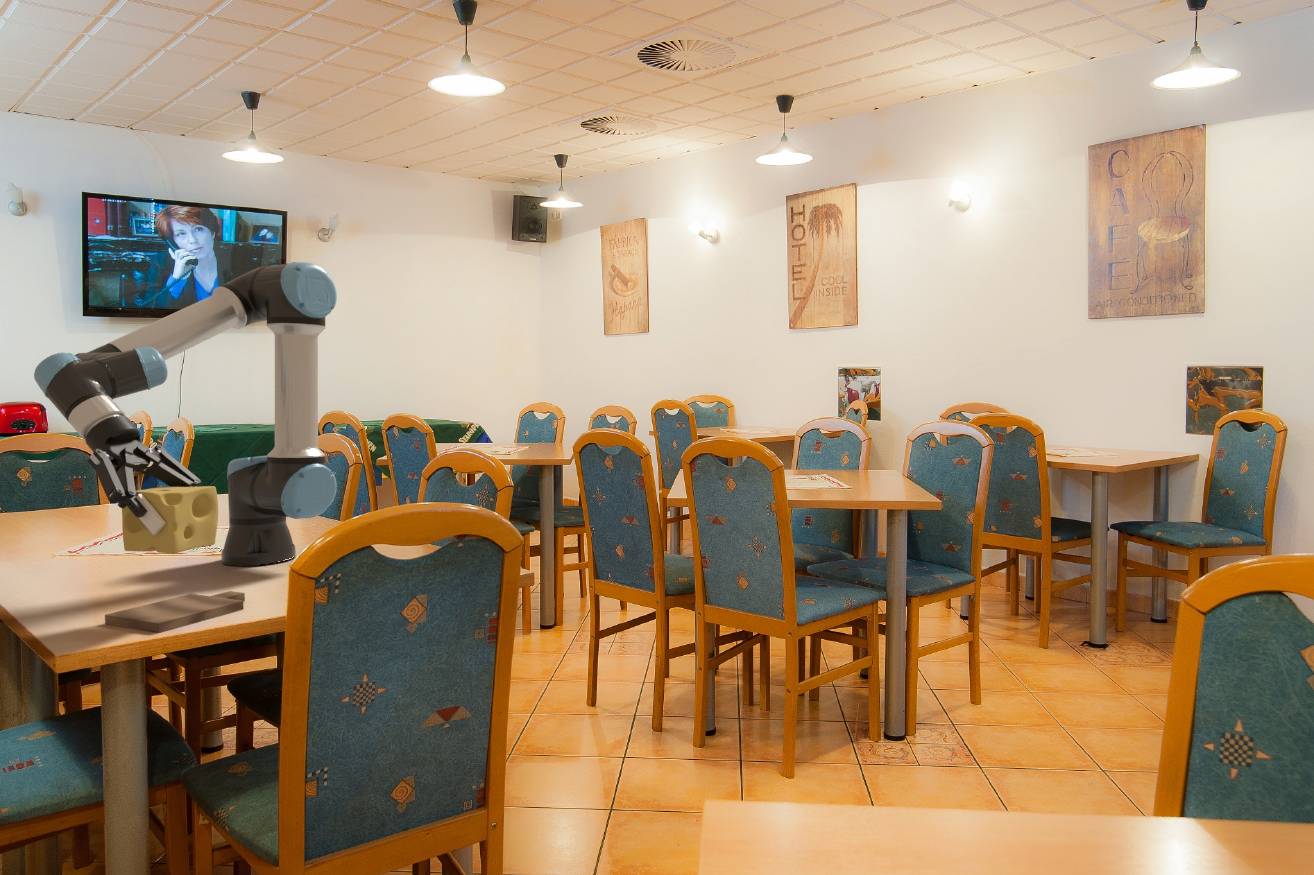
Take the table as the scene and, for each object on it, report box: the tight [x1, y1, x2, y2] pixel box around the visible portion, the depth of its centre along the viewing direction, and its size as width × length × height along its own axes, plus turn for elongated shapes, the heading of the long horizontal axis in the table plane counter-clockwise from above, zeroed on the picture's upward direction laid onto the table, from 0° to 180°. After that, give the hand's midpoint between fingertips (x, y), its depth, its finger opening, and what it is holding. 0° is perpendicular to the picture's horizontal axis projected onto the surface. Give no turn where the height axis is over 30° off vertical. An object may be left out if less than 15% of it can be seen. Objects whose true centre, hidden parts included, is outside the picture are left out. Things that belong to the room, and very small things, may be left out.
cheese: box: [121, 485, 219, 555], centre depth 149 cm, size 10×11×10 cm
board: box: [104, 590, 246, 633], centre depth 153 cm, size 20×13×2 cm, turn 156°
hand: (185, 524), depth 149 cm, fingers closed on cheese, 10 cm apart
